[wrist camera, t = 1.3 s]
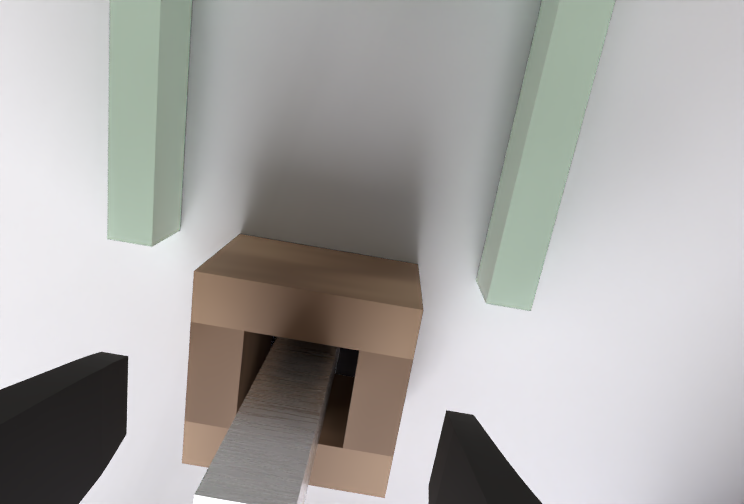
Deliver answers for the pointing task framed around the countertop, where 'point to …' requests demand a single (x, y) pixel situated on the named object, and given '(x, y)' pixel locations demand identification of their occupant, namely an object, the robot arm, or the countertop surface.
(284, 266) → the walnut block
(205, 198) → the countertop surface
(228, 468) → the grey upright post
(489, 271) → the green u-shaped bracket
